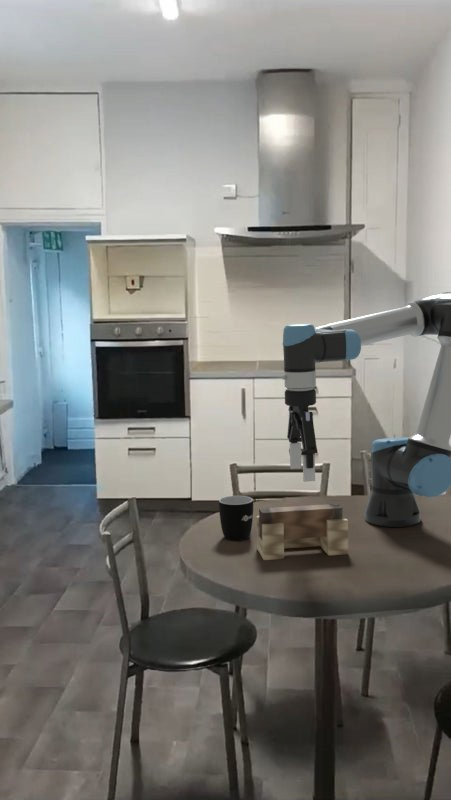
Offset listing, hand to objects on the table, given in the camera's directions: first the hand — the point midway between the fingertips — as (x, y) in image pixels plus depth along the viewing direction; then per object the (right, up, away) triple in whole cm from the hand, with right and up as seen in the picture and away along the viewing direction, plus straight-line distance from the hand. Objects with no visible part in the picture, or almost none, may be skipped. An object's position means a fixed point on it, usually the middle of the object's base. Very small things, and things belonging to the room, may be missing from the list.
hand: (302, 474), depth 197 cm
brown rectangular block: (0, -15, +2) cm, 15 cm away
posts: (0, -19, +3) cm, 19 cm away
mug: (-15, -18, +16) cm, 29 cm away
